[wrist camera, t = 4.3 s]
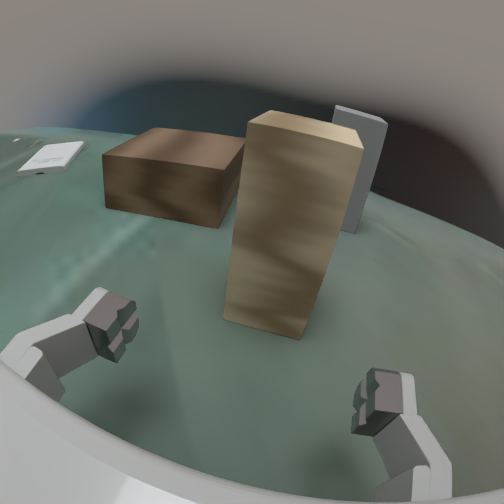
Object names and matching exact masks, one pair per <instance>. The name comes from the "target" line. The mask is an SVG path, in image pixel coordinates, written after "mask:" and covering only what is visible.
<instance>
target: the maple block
mask: <svg viewBox="0 0 504 504" xmlns="http://www.w3.org/2000/svg"><path fill="white" fill-rule="evenodd" d="M363 151H364V148H363V145H362V143H361V141H360V139H359V136H358V134H357V132H356V130H353V129H350V128H346V127H343V126H339V125H335V124H331V123H327V122H323V121H319V120H315V119H311V118H306V117H302V116H297V115H292V114H288V113H283V112H278V111H272V110H270V111H268V112H266V113H264V114H262V115H260V116H258V117H256V118H254V119H253V120H251V121H249V122H248V126H247V133H246V140H245V147H244V155H243V162H242V169H241V176H240V184H239V191H238V199H237V207H236V214H235V222H234V230H233V238H232V246H231V254H230V263H229V271H228V279H227V288H226V297H225V305H224V314H223V319H225V320H228V321H231V322H235V323H238V324H242V325H245V326H249V327H252V328H256V329H259V330H263V331H266V332H270V333H274V334H277V335H281V336H285V337H289V338H293V339H297V340H300V339H301V336H302V334H303V331H304V329H305V326H306V324H307V321H308V318H309V316H310V313H311V311H312V308H313V305H314V303H315V300H316V297H317V295H318V292H319V289H320V287H321V284H322V281H323V278H324V275H325V273H326V270H327V267H328V264H329V261H330V258H331V255H332V252H333V250H334V247H335V244H336V241H337V238H338V235H339V231H340V228H341V225H342V222H343V219H344V216H345V213H346V209H347V206H348V203H349V200H350V196H351V193H352V190H353V186H354V183H355V179H356V176H357V172H358V169H359V165H360V162H361V158H362V154H363Z"/></svg>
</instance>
